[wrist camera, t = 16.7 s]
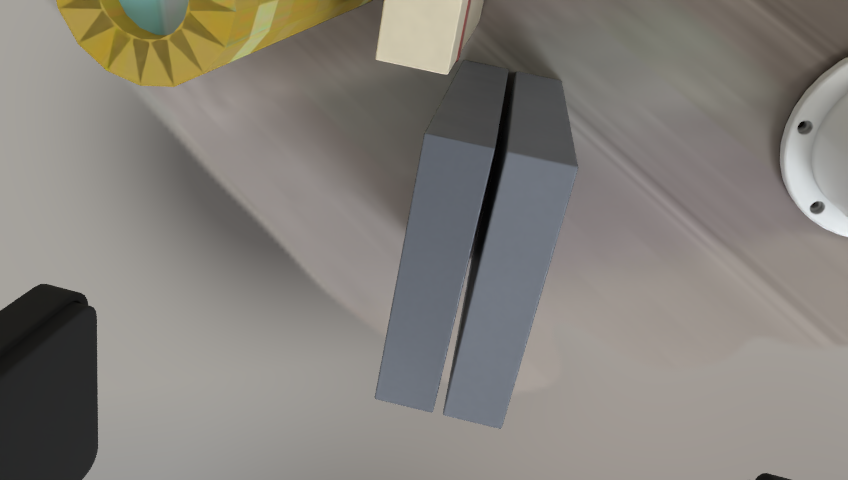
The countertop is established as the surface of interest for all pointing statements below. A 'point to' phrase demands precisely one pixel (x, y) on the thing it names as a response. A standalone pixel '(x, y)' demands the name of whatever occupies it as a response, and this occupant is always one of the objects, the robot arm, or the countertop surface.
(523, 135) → the grey book
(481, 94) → the grey book
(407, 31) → the cream book
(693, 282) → the countertop surface
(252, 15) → the book
